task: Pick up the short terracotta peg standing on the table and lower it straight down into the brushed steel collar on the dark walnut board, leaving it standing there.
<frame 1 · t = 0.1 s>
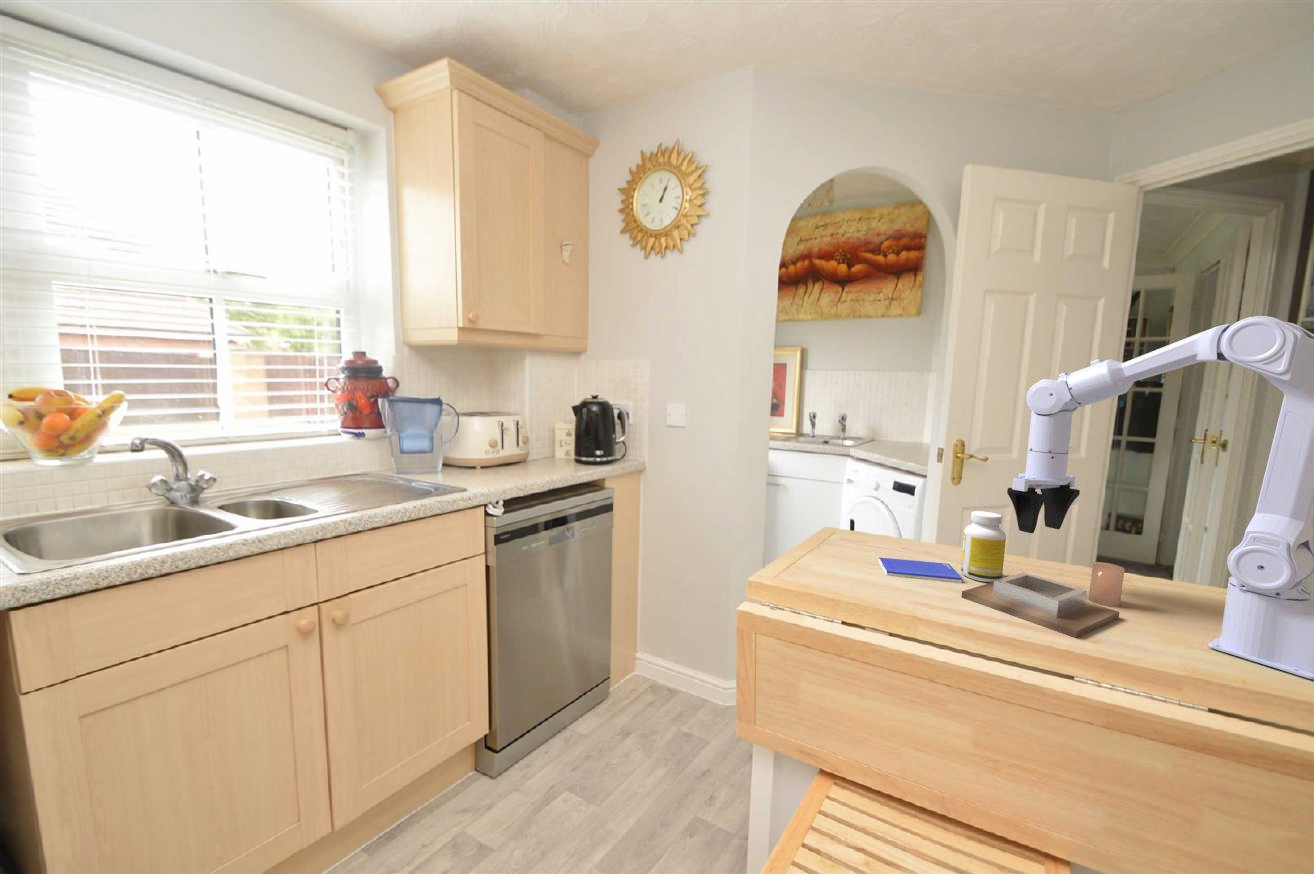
hand: (1039, 529, 95), 10 cm above the table, tool pointing down, fingers open, 7 cm apart
hard drive: (917, 575, 102), on the table
mount board: (1037, 607, 87), on the table
steel collar: (1038, 593, 87), on the mount board, point 2 cm above the table
terracotta peg: (1104, 601, 90), on the table
pill bottle: (980, 578, 100), on the table
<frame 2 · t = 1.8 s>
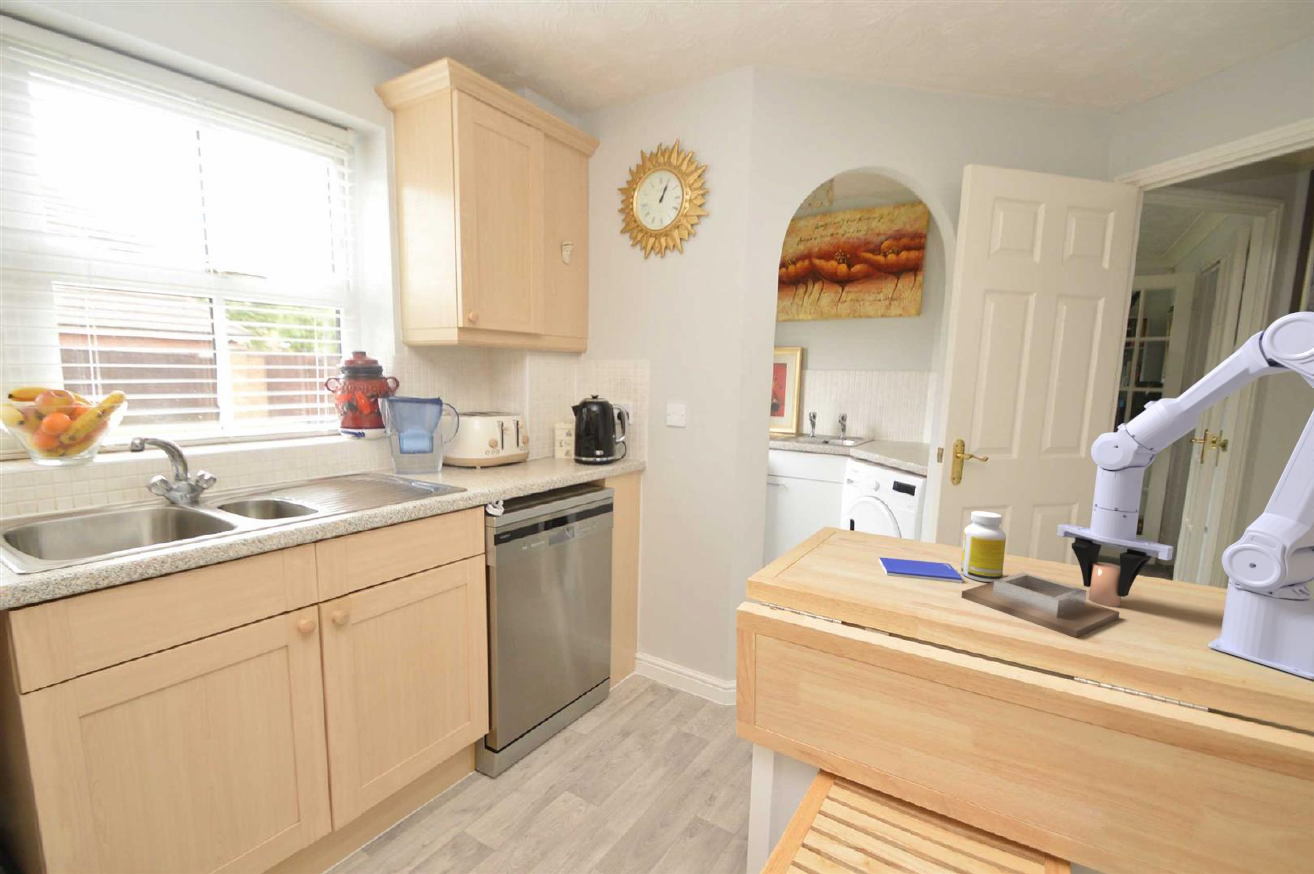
hand: (1105, 590, 90), 2 cm above the table, tool pointing down, fingers closed on terracotta peg, 4 cm apart
terracotta peg: (1104, 601, 90), on the table, touching gripper
everything else where it was.
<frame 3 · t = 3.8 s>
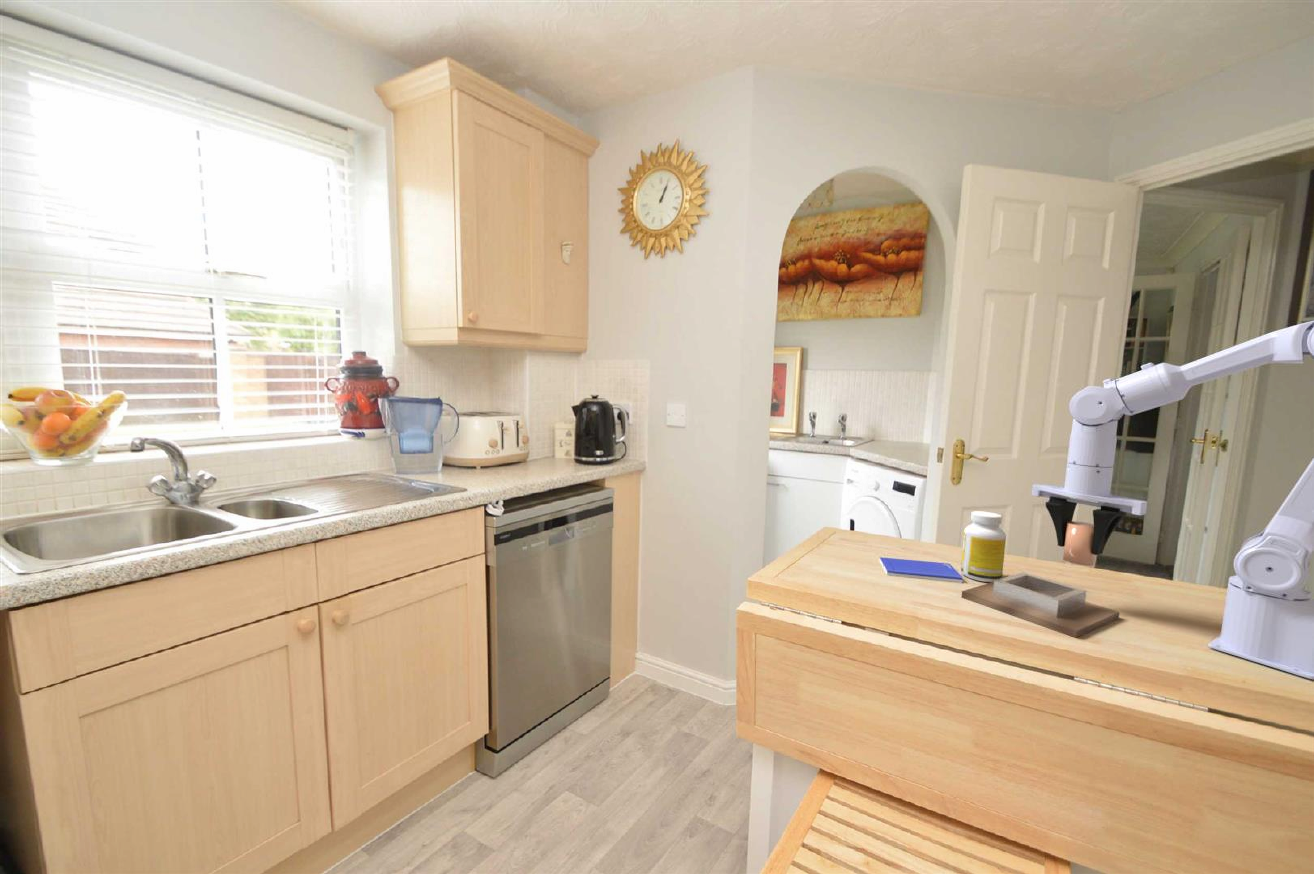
hand: (1079, 549, 88), 9 cm above the table, tool pointing down, fingers closed on terracotta peg, 4 cm apart
terracotta peg: (1078, 561, 88), point 7 cm above the table, touching gripper
everything else where it was.
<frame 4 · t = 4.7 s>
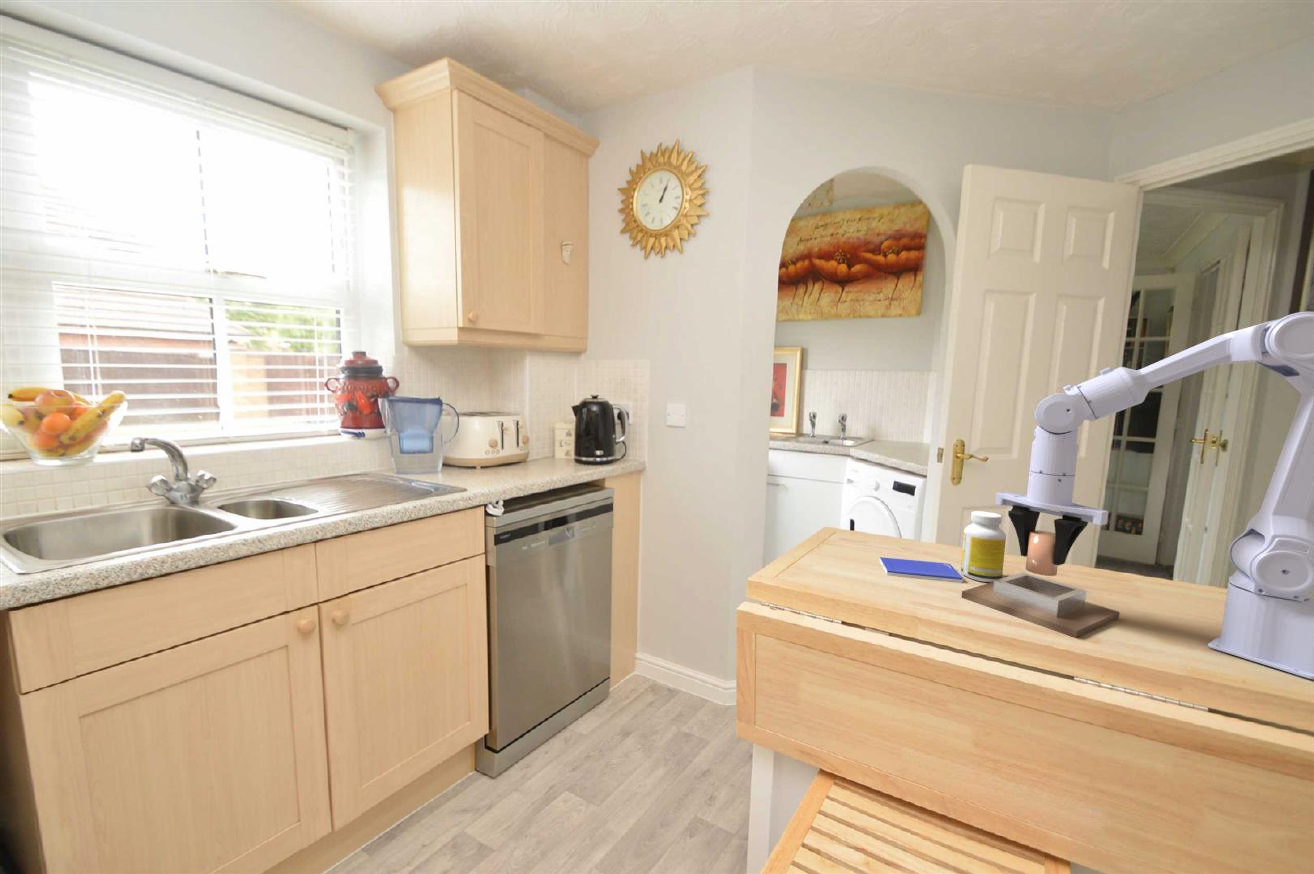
hand: (1042, 559, 86), 8 cm above the table, tool pointing down, fingers closed on terracotta peg, 4 cm apart
terracotta peg: (1040, 571, 86), point 6 cm above the table, touching gripper
everything else where it was.
when the fingers open (4 cm above the table, at t = 5.6 s): terracotta peg drops 1 cm, resting on mount board.
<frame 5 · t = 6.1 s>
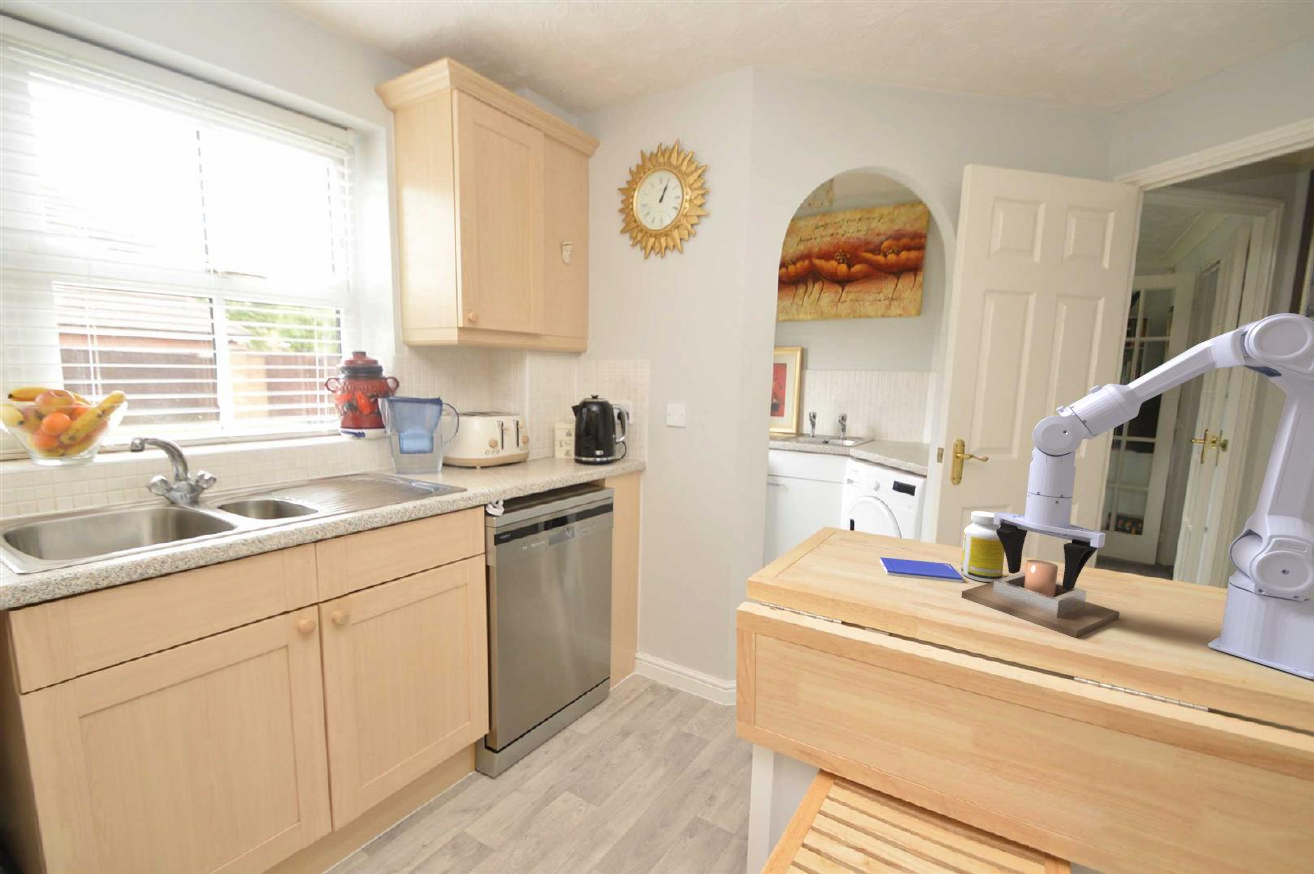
hand: (1040, 579, 86), 4 cm above the table, tool pointing down, fingers open, 7 cm apart
terracotta peg: (1038, 601, 87), point 1 cm above the table, touching mount board
everything else where it was.
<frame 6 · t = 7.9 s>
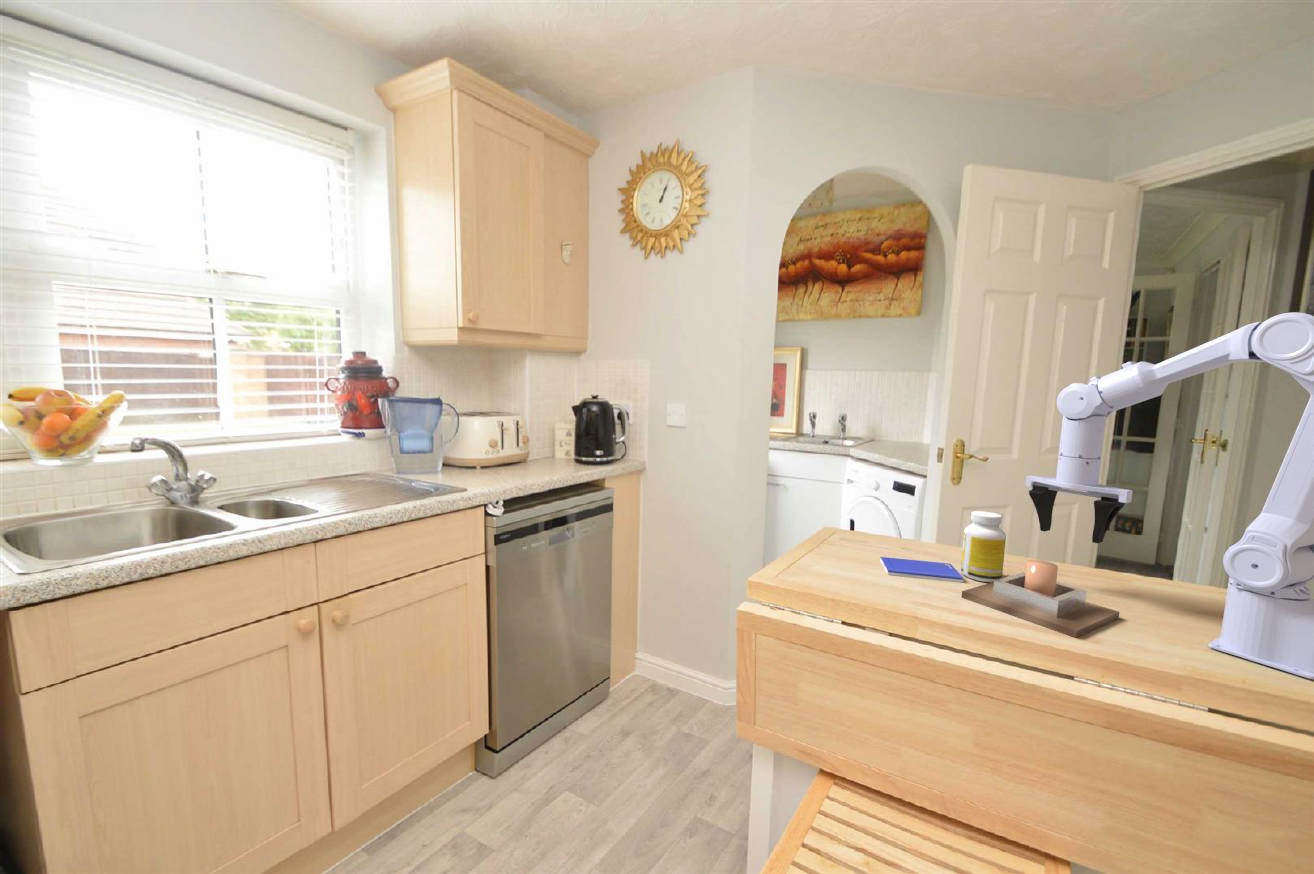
hand: (1070, 536, 94), 9 cm above the table, tool pointing down, fingers open, 7 cm apart
nothing on the table moved.
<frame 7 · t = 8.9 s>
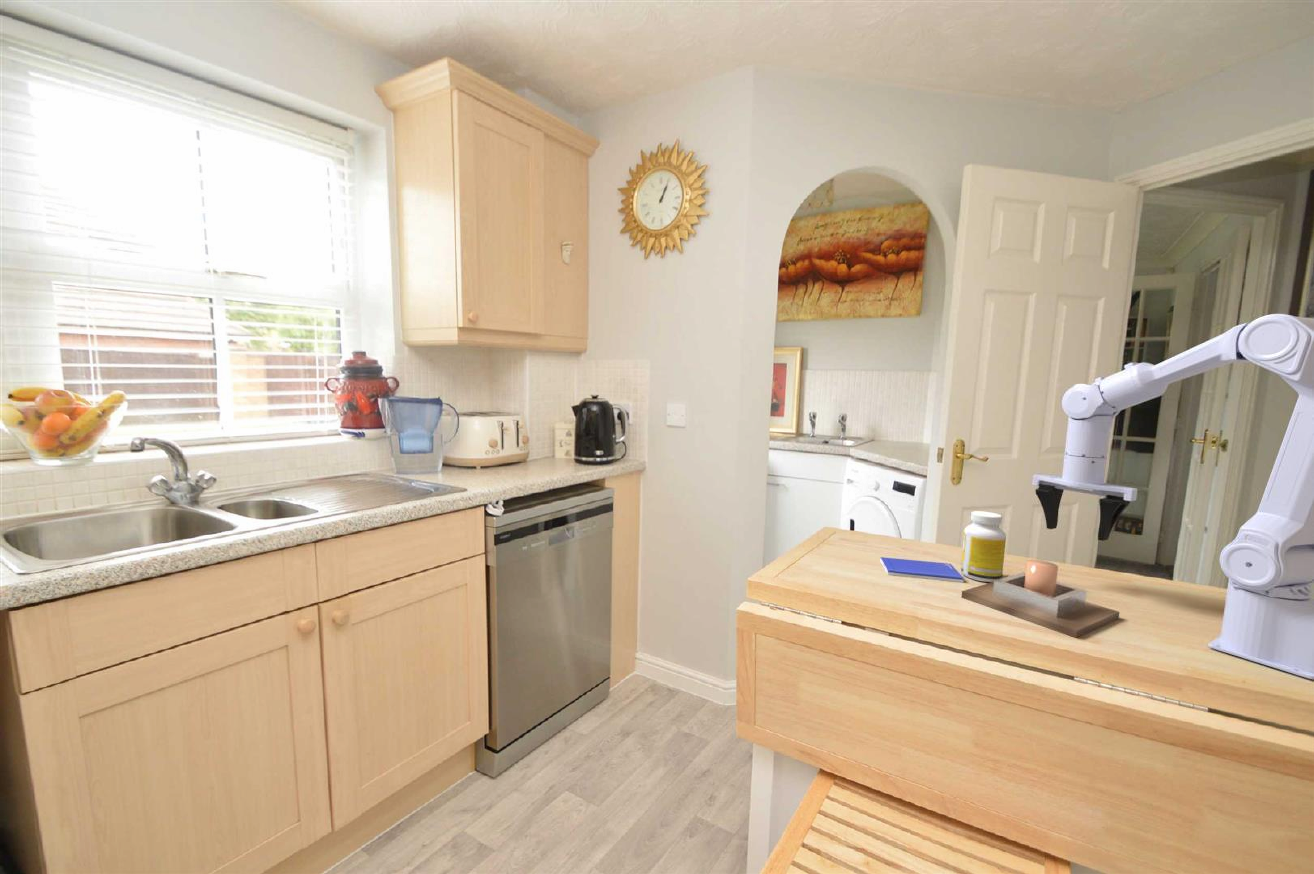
hand: (1076, 533, 96), 9 cm above the table, tool pointing down, fingers open, 7 cm apart
nothing on the table moved.
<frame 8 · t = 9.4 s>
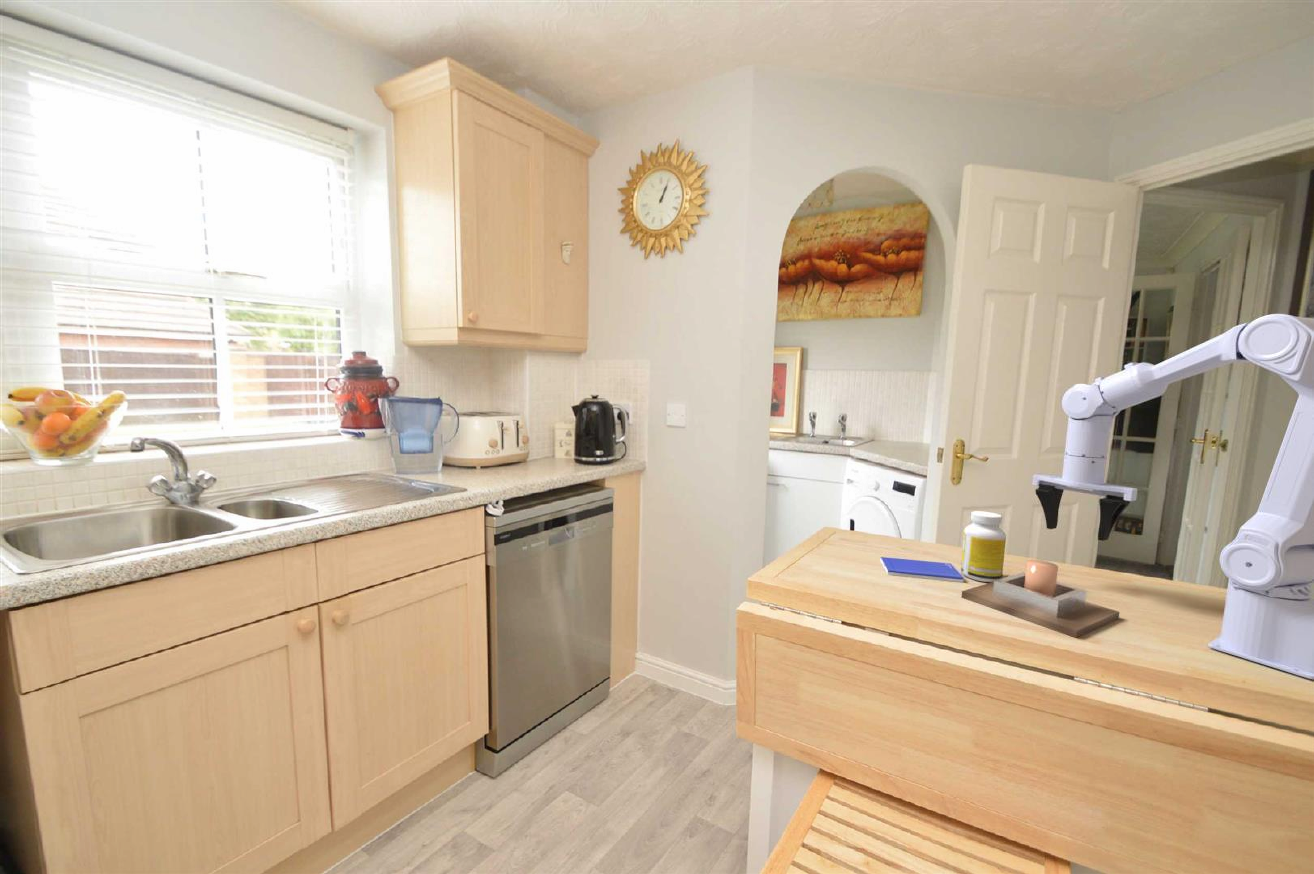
hand: (1076, 533, 96), 9 cm above the table, tool pointing down, fingers open, 7 cm apart
nothing on the table moved.
at the end: terracotta peg 0.0 cm off-centre on the mount board, point 1.0 cm above the mount board's base; terracotta peg tilted 0°; the gripper is holding nothing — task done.
